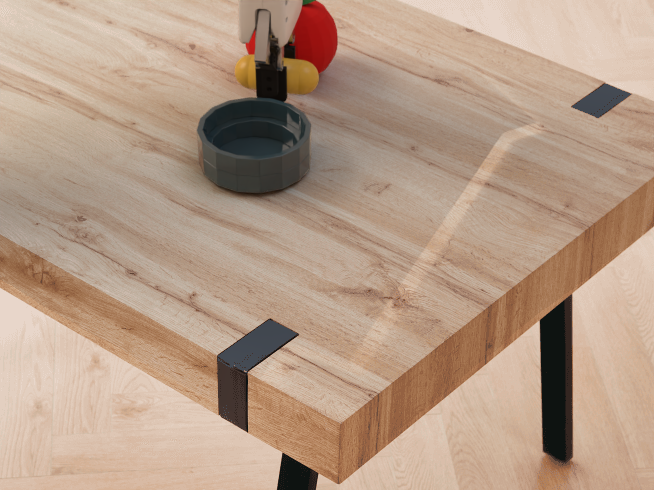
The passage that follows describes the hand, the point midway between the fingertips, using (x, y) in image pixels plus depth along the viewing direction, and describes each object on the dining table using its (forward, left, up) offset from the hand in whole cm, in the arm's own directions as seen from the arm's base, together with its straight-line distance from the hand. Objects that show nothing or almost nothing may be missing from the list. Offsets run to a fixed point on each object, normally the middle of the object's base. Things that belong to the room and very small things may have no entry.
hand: (276, 87), depth 115 cm
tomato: (-3, +8, -4) cm, 10 cm away
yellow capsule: (0, 0, 0) cm, 0 cm away
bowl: (+2, -9, -4) cm, 10 cm away
